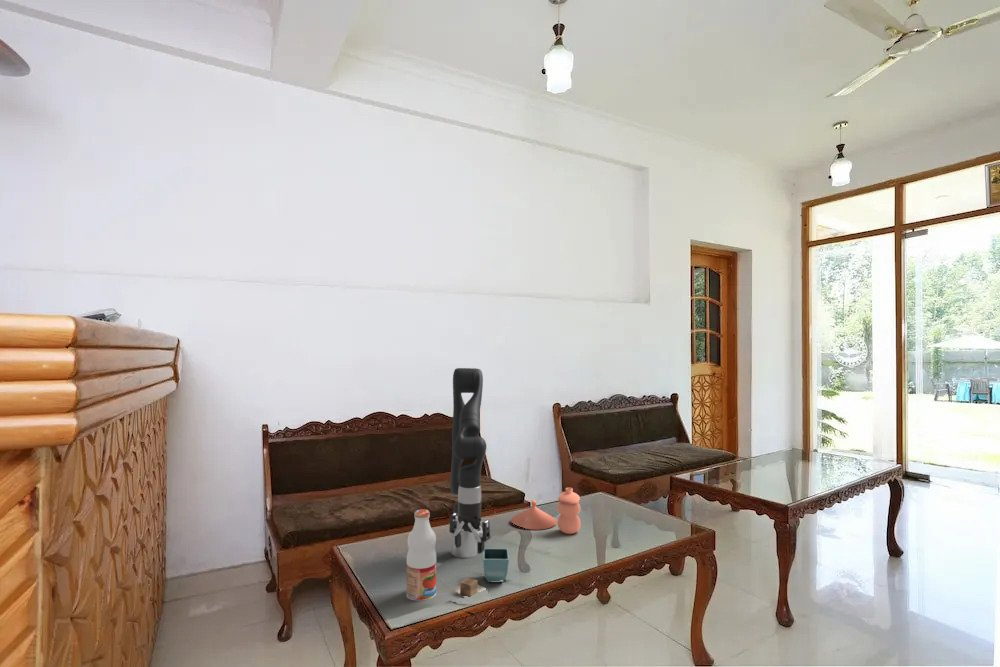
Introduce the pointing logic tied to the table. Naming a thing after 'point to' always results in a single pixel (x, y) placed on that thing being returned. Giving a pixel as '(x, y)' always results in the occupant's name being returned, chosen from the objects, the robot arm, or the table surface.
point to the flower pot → (495, 564)
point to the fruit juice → (421, 559)
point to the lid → (468, 587)
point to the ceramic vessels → (542, 520)
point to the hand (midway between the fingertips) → (469, 549)
